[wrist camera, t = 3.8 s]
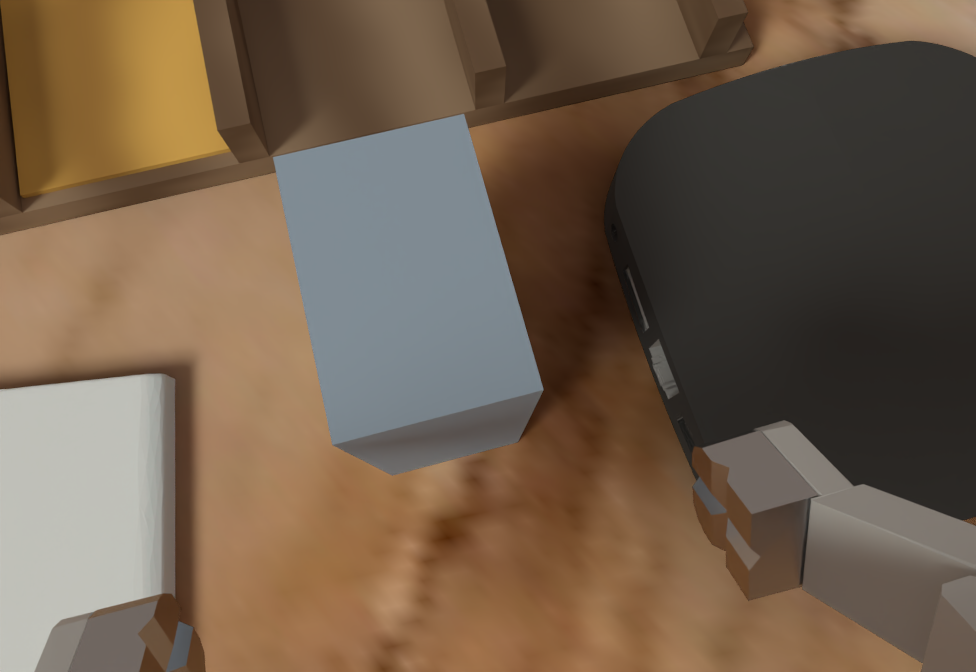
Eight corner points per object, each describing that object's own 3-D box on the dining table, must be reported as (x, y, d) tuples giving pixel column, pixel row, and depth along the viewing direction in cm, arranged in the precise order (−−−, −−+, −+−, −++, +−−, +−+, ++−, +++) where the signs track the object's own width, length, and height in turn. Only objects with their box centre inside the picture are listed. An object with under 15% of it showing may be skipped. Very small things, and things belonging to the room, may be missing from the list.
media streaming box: (1147, 440, 22) (1247, 429, 19) (723, 579, 21) (762, 590, 18) (944, 61, 26) (1003, 2, 23) (570, 160, 25) (582, 112, 22)
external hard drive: (184, 382, 23) (183, 817, 19) (-76, 409, 22) (-120, 858, 19) (161, 371, 21) (157, 843, 18) (-118, 401, 21) (-174, 887, 17)
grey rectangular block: (469, 266, 23) (463, 114, 14) (517, 441, 22) (543, 389, 13) (351, 295, 23) (273, 157, 14) (392, 475, 21) (332, 444, 13)
